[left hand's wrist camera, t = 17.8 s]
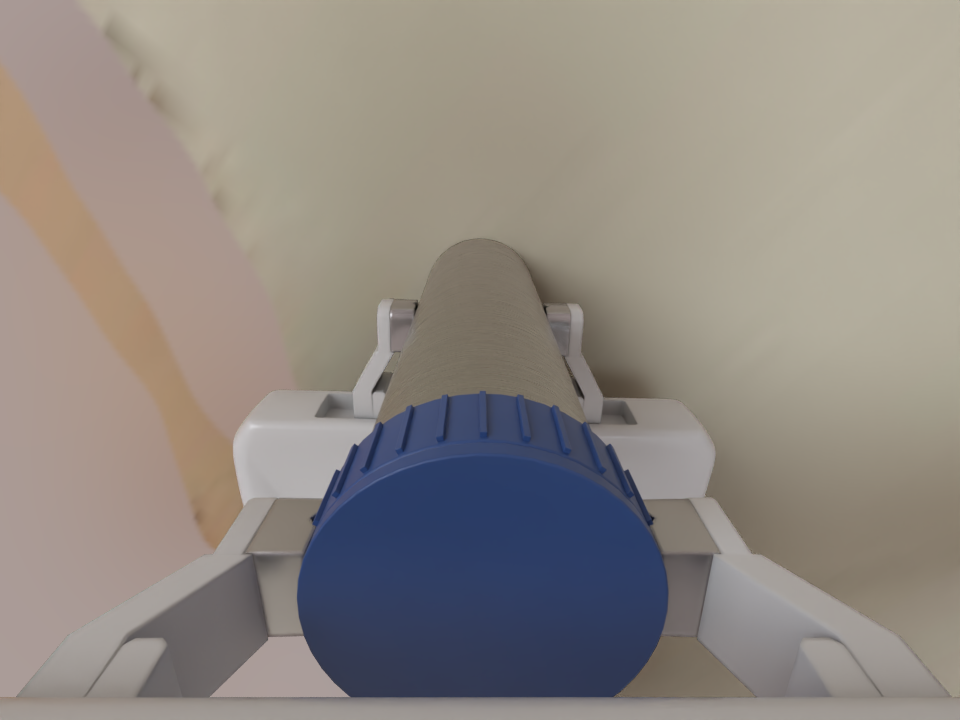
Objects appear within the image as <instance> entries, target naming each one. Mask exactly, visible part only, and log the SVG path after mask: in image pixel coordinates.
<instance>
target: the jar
mask: <svg viewBox="0 0 960 720" xmlns="http://www.w3.org/2000/svg"><path fill="white" fill-rule="evenodd" d="M480 391H486V394H502V395H508V396H514V397H517V395H518V394H520V395H524V398H525V399H528V400H532V401H535V402H539V403H542V404H545V405H547V406H550V407H552V406H553V405H556V406H558V407H559V409H560V411H561V412H564V413H565V414H567V415H569V416H570V417H572V418H574V419H575V420H577V421H579V422H581V423H582V424H583V423H584V422H586V423H588V422H587V419H586V417H585V414H584V412H583V409H582V407H581V404H580V401H579V399H578V396H577V394H576V391H575V389H574V386H573V383H572V381H571V378H570V376H569V373H568V371H567V368H566V365H565V363H564V360H563V358H562V355H561V353H560V350H559V347H558V345H557V342H556V340H555V337H554V335H553V332H552V329H551V327H550V324H549V322H548V319H547V317H546V314H545V311H544V309H543V306H542V304H541V301H540V298H539V296H538V293H537V291H536V288H535V286H534V283H533V280H532V278H531V275H530V273H529V270H528V268H527V266H526V264H525V263H524V261H523V260H522V259H521V258H520V256H519V255H518V254H517V253H516V252H514V251H513V250H512V249H511V248H509V247H508V246H506V245H504V244H502V243H500V242H497V241H493V240H488V239H471V240H467V241H463V242H460V243H458V244H456V245H454V246H452V247H451V248H449V249H448V250H446V251H445V252H444V253H443V254H442V255H441V256H440V257H439V258H438V260H437V261H436V262H435V264H434V266H433V268H432V270H431V272H430V275H429V277H428V280H427V283H426V286H425V288H424V291H423V294H422V296H421V299H420V302H419V305H418V307H417V310H416V313H415V316H414V318H413V321H412V324H411V326H410V329H409V332H408V335H407V337H406V340H405V343H404V346H403V348H402V351H401V354H400V356H399V359H398V362H397V365H396V367H395V370H394V373H393V376H392V378H391V381H390V384H389V386H388V389H387V392H386V395H385V397H384V400H383V403H382V406H381V408H380V411H379V414H378V416H377V419H376V422H375V425H376V424H377V423H379V422H381V423H382V424H383V423H385V422H386V421H388V420H389V419H391V418H393V417H394V416H396V415H398V414H400V413H402V412H404V411H406V407H407V406H409V405H412V406H413V407H415V406H418V405H421V404H424V403H427V402H430V401H433V400H436V399H441V398H442V395H446V394H448V397H451V396H456V395H466V394H480ZM375 425H374V427H373V430H372V432H373V431H374V428H375Z"/></svg>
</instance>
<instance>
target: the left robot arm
mask: <svg viewBox="0 0 960 720" xmlns="http://www.w3.org/2000/svg"><path fill="white" fill-rule="evenodd" d="M322 500H323V498H252V499H250V500H248V501H247V503H246V504H245V506H244V507H243V509H242V510H241V512H240V513H239V515H238V516H237V518H236V520H235V521H234V523H233V524H232V526H231V527H230V529H229V530H228V532H227V533H226V535H225V536H224V538H223V539H222V541H221V543H220V544H219V546H218V547H217V549H216V550H215V552H214V553H213V554H204V555H203V556H201V557H199V558H198V559H196V560H194V561H192V562H191V563H189V564H187V565H186V566H184V567H182V568H181V569H179V570H177V571H176V572H174V573H172V574H170V575H169V576H167V577H165V578H164V579H162V580H160V581H159V582H157V583H155V584H153V585H152V586H150V587H148V588H147V589H145V590H143V591H142V592H140V593H138V594H137V595H135V596H133V597H131V598H130V599H128V600H126V601H125V602H123V603H121V604H120V605H118V606H116V607H115V608H113V609H111V610H110V611H108V612H106V613H104V614H103V615H101V616H99V617H98V618H96V619H94V620H93V621H91V622H89V623H88V624H86V625H84V626H82V627H81V628H79V629H77V630H76V631H74V632H72V633H71V634H69V635H67V637H66V638H65V639H64V640H63V641H62V643H61V644H60V645H59V646H58V647H57V648H56V650H55V651H54V652H53V653H52V654H51V656H50V657H49V658H48V659H47V660H46V662H45V663H44V664H43V665H42V666H41V668H40V669H39V670H38V671H37V672H36V674H35V675H34V676H33V677H32V678H31V679H30V681H29V682H28V683H27V684H26V685H25V687H24V688H23V689H22V690H21V691H20V693H19V694H18V695H17V696H16V697H0V720H960V697H952V696H951V695H950V694H949V693H948V692H947V690H946V689H945V688H944V687H943V686H942V685H941V683H940V682H939V681H938V680H937V679H936V677H935V676H934V675H933V674H932V673H931V672H930V670H929V669H928V668H927V667H926V666H925V665H924V663H923V662H922V661H921V660H920V659H919V657H918V656H917V655H916V654H915V653H914V652H913V650H912V649H911V648H910V647H909V646H908V644H907V643H906V642H905V641H904V640H903V639H902V637H901V636H899V635H898V634H896V633H894V632H892V631H891V630H889V629H887V628H886V627H884V626H882V625H881V624H879V623H877V622H875V621H874V620H872V619H870V618H869V617H867V616H865V615H864V614H862V613H860V612H858V611H857V610H855V609H853V608H852V607H850V606H848V605H847V604H845V603H843V602H841V601H840V600H838V599H836V598H835V597H833V596H831V595H830V594H828V593H826V592H824V591H823V590H821V589H819V588H818V587H816V586H814V585H812V584H811V583H809V582H807V581H806V580H804V579H802V578H801V577H799V576H797V575H795V574H794V573H792V572H790V571H789V570H787V569H785V568H784V567H782V566H780V565H778V564H777V563H775V562H773V561H772V560H770V559H768V558H767V557H765V556H763V555H761V554H752V552H751V551H750V549H749V548H748V546H747V545H746V543H745V542H744V540H743V539H742V538H741V536H740V535H739V533H738V532H737V530H736V529H735V527H734V526H733V524H732V523H731V521H730V520H729V518H728V517H727V515H726V514H725V512H724V511H723V509H722V508H721V506H720V505H719V503H718V502H717V500H715V499H714V498H712V497H700V498H685V499H642V500H643V502H644V504H645V506H646V508H647V510H648V513H649V515H650V517H651V519H652V521H653V525H651V526H650V530H651V532H652V534H653V537H654V539H655V541H656V543H657V545H658V548H659V550H660V552H661V555H662V558H663V562H664V565H665V568H666V572H667V580H668V588H669V595H668V611H667V616H666V620H665V625H664V629H663V631H662V634H661V636H681V637H697V640H698V641H699V642H700V643H701V644H702V645H703V646H704V647H705V648H707V649H708V650H709V651H710V652H711V653H712V654H713V655H714V656H715V657H716V658H717V659H718V660H719V661H720V662H721V663H722V664H723V665H724V666H725V667H726V668H727V669H728V670H729V671H730V672H731V673H732V674H733V675H734V676H735V677H736V678H738V679H739V680H740V681H741V682H742V683H743V684H744V685H745V686H746V687H747V688H748V689H749V690H750V691H751V692H752V693H753V694H754V695H755V696H756V697H210V696H211V695H212V694H213V693H214V692H215V691H216V690H217V689H218V688H219V687H220V686H221V685H222V684H223V683H224V682H225V681H226V680H227V679H228V678H229V677H230V676H231V675H232V674H233V673H234V672H236V671H237V670H238V669H239V668H240V667H241V666H242V665H243V664H244V663H245V662H246V661H247V660H248V659H249V658H250V657H251V656H252V655H253V654H254V653H255V652H256V651H257V650H258V649H259V648H260V647H261V646H262V645H263V644H264V643H265V642H266V641H267V640H268V637H283V636H304V635H303V631H302V627H301V624H300V620H299V615H298V605H297V587H298V577H299V573H300V569H301V565H302V561H303V558H304V556H305V553H306V551H307V548H308V546H309V544H310V541H311V539H312V536H313V534H314V532H315V529H316V526H314V525H312V523H313V521H314V518H315V516H316V514H317V511H318V509H319V507H320V505H321V502H322Z"/></svg>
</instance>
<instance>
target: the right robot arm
mask: <svg viewBox="0 0 960 720" xmlns="http://www.w3.org/2000/svg"><path fill="white" fill-rule="evenodd" d="M417 307H418V300H403V299H382V300H381V302H380V304H379V305H378V311H377V334H378V346H377V347H376V349H375V351H374V352H373V354H372V356H371V358H370V359H369V361H368V363H367V365H366V366H365V368H364V370H363V372H362V374H361V376H360V378H359V380H358V381H357V383H356V385H355V387H354V389H353V391H314V390H275V391H272V392H270V393H269V394H267V395H266V396H265V397H264V398H263V399H262V400H261V401H260V402H259V403H258V404H257V405H256V406H255V407H254V408H253V409H252V410H251V412H250V413H249V414H248V415H247V417H246V418H245V419H244V421H243V422H242V424H241V425H240V426H239V428H238V430H237V432H236V434H235V437H234V441H233V457H234V464H235V470H236V475H237V480H238V485H239V490H240V494H241V498H242V502H243V506H245V504H246V503H247V501H248V500H250V499H252V498H324V495H325V493H326V491H327V488H328V486H329V484H330V481H331V479H332V477H333V474H334V472H335V470H336V469H337V470H339V471H340V470H341V468H342V467H343V465H344V463H345V461H346V459H347V456H348V454H349V451H350V449H351V447H352V446H353V445H354V444H356V445H359V444H360V443H361V442H362V441H363V439H365V438H366V437H367V436H368V435H369V434H370V433H372V430H373V427H374V425H375V422H376V419H377V416H378V414H379V411H380V408H381V406H382V403H383V400H384V397H385V395H386V392H387V389H388V386H389V384H390V381H391V378H392V376H393V374H392V373H385V372H383V371H384V370H385V368H386V366H387V364H388V363H389V361H390V359H391V358H392V356H393V354H394V352H401V351H402V348H403V346H404V343H405V340H406V337H407V335H408V332H409V329H410V326H411V324H412V321H413V318H414V316H415V313H416V310H417ZM543 309H544V311H545V314H546V317H547V319H548V322H549V324H550V327H551V329H552V332H553V335H554V337H555V340H556V342H557V345H558V347H559V350H560V353H561V355H562V356H564V358H565V360H566V361H567V363H568V365H569V367H570V369H571V371H572V373H573V375H574V377H575V378H574V377H570V378H571V381H572V383H573V386H574V389H575V391H576V394H577V396H578V399H579V401H580V404H581V407H582V409H583V412H584V414H585V417H586V419H587V422H588V424H589V425H590V428H591V430H592V432H593V433H595V434H596V435H597V436H598V437H599V438H600V439H601V440H602V441H603V442H604V443H605V444H606V445H609V444H611V445H612V446H613V447H614V450H615V452H616V454H617V456H618V459H619V461H620V463H621V465H622V468H623V470H624V471H625V470H627V469H628V470H629V471H630V473H631V476H632V478H633V480H634V482H635V484H636V487H637V489H638V491H639V493H640V495H641V497H642V499H685V498H700V497H704V496H705V493H706V490H707V487H708V484H709V481H710V477H711V474H712V471H713V467H714V463H715V457H716V450H715V446H714V443H713V441H712V439H711V437H710V436H709V434H708V432H707V431H706V429H705V428H704V426H703V425H702V423H701V422H700V421H699V420H698V419H697V417H696V416H695V415H694V414H693V413H692V412H691V411H690V410H689V409H688V408H687V407H686V406H685V405H684V404H683V403H682V402H680V401H678V400H674V399H650V398H607V397H603V395H602V393H601V391H600V389H599V387H598V385H597V382H596V380H595V378H594V376H593V374H592V372H591V370H590V368H589V366H588V364H587V362H586V360H585V358H584V356H583V354H582V352H581V345H582V335H583V325H584V317H583V310H582V309H581V307H580V306H579V304H568V303H567V304H566V303H543Z"/></svg>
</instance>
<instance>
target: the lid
mask: <svg viewBox="0 0 960 720" xmlns="http://www.w3.org/2000/svg"><path fill="white" fill-rule="evenodd" d="M312 525H314V526H316V529H315V532H314V534H313V536H312V539H311V541H310V544H309V546H308V548H307V551H306V553H305V556H304V558H303V561H302V565H301V569H300V573H299V577H298V587H297V605H298V615H299V620H300V624H301V627H302V631H303V635H304V637H305V639H306V641H307V644H308V646H309V648H310V650H311V652H312V654H313V656H314V657H315V659H316V660H317V662H318V663H319V665H320V666H321V668H322V669H323V670H324V671H325V673H326V674H327V675H328V676H329V677H330V678H331V680H332V681H333V682H334V683H335V684H336V685H337V686H339V687H340V688H341V689H342V690H343V691H344V692H345V693H346V694H347V695H349V696H350V697H614V696H615V695H616V694H618V693H619V692H620V691H622V690H623V689H624V688H625V687H626V686H627V685H628V684H629V683H630V682H631V681H632V680H633V679H634V678H635V677H636V676H637V674H638V673H639V672H640V671H641V669H642V668H643V667H644V666H645V664H646V663H647V662H648V660H649V658H650V656H651V655H652V653H653V651H654V650H655V648H656V646H657V644H658V641H659V639H660V636H661V634H662V631H663V629H664V625H665V620H666V616H667V611H668V595H669V588H668V580H667V572H666V568H665V565H664V562H663V558H662V555H661V552H660V550H659V548H658V545H657V543H656V541H655V539H654V537H653V534H652V532H651V530H650V526H651V525H653V521H652V519H651V517H650V515H649V513H648V510H647V508H646V506H645V504H644V502H643V500H642V497H641V495H640V493H639V491H638V489H637V487H636V484H635V482H634V480H633V478H632V476H631V473H630V471H629V470H628V469H627V470H625V471H624V470H623V468H622V465H621V463H620V461H619V459H618V456H617V454H616V452H615V450H614V447H613V446H612V445H611V444H609V445H606V444H605V443H604V442H603V441H602V440H601V439H600V438H599V437H598V436H597V435H596V434H595V433H593V432H592V430H591V428H590V425H589V424H588V423H586V422H584V423H583V424H582V423H581V422H579V421H577V420H575V419H574V418H572V417H570V416H569V415H567V414H565V413H564V412H561V411H560V409H559V407H558V406H556V405H553V406H552V407H550V406H547V405H545V404H542V403H539V402H535V401H532V400H528V399H525V398H524V395H520V394H518V395H517V397H514V396H508V395H502V394H486V391H480V394H466V395H456V396H451V397H448V394H446V395H442V398H441V399H436V400H433V401H430V402H427V403H424V404H421V405H418V406H415V407H413V406H412V405H409V406H407V407H406V411H404V412H402V413H400V414H398V415H396V416H394V417H393V418H391V419H389V420H388V421H386V422H385V423H383V424H382V423H381V422H379V423H377V424H376V425H375V428H374V431H373V432H372V433H370V434H369V435H368V436H367V437H366V438H365V439H363V441H362V442H361V443H360V444H359V445H356V444H354V445H353V446H352V447H351V449H350V451H349V454H348V456H347V459H346V461H345V463H344V465H343V467H342V468H341V470H340V471H339V470H337V469H336V470H335V472H334V474H333V477H332V479H331V481H330V484H329V486H328V488H327V491H326V493H325V495H324V498H323V500H322V502H321V505H320V507H319V509H318V511H317V514H316V516H315V518H314V521H313V523H312Z"/></svg>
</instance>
